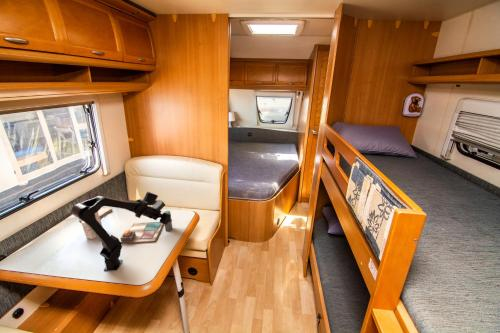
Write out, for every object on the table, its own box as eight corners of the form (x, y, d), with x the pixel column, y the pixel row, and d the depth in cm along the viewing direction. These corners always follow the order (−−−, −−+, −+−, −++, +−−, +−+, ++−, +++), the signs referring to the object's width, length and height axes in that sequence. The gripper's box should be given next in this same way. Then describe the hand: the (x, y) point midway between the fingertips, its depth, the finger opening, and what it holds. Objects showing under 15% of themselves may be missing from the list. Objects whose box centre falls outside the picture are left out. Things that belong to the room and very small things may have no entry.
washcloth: (77, 222, 154) (76, 218, 153) (100, 209, 170) (99, 205, 169) (91, 225, 151) (90, 221, 150) (113, 211, 167) (112, 207, 166)
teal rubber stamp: (171, 231, 143) (169, 214, 139) (164, 231, 143) (161, 214, 138) (173, 227, 147) (171, 210, 143) (166, 227, 147) (163, 210, 143)
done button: (129, 237, 133) (128, 233, 132) (124, 238, 133) (123, 233, 132) (132, 234, 136) (131, 230, 135) (126, 234, 136) (125, 230, 135)
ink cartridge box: (97, 230, 145) (91, 210, 140) (103, 230, 144) (98, 211, 139) (85, 238, 137) (79, 217, 132) (92, 239, 136) (86, 218, 131)
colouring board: (155, 242, 133) (154, 236, 132) (120, 244, 132) (118, 238, 130) (164, 222, 152) (163, 217, 151) (133, 224, 150) (132, 219, 149)
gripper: (166, 202, 127) (183, 210, 140) (145, 195, 136) (162, 203, 149) (156, 221, 123) (174, 227, 136) (135, 212, 132) (154, 219, 145)
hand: (166, 218), depth 142 cm, fingers open, 9 cm apart
